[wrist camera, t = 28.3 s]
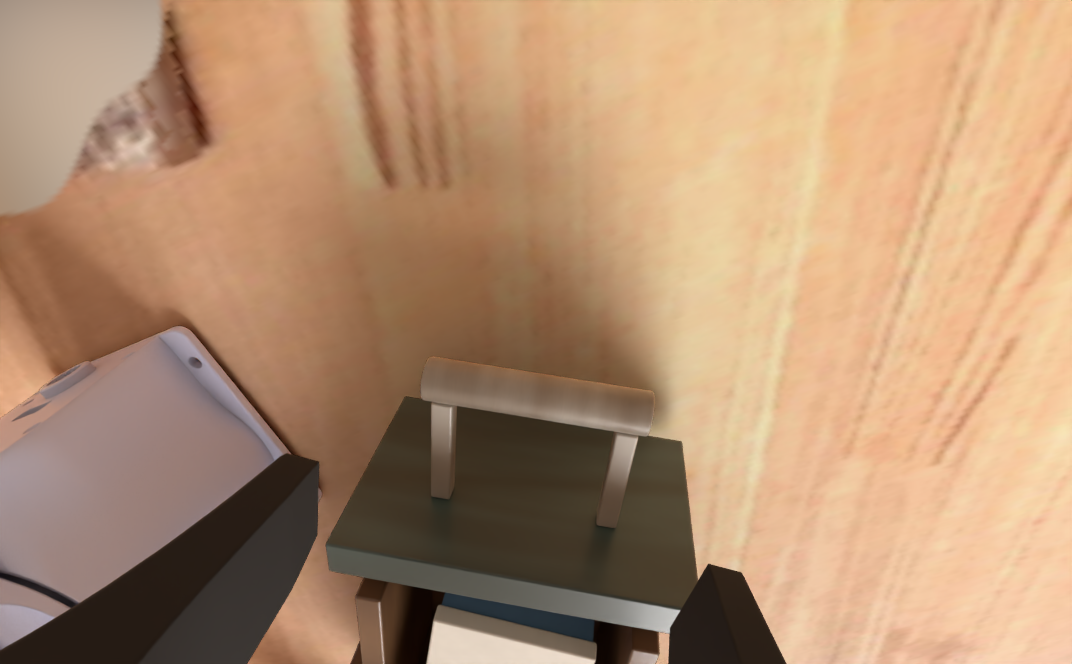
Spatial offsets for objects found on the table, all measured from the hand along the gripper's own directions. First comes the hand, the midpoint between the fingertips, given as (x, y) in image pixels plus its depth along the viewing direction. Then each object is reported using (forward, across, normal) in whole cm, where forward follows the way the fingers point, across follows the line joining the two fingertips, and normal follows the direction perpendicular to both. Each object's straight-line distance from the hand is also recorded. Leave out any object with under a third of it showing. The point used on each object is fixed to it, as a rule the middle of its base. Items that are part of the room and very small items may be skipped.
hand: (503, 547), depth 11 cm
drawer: (+9, -1, +8) cm, 13 cm away
